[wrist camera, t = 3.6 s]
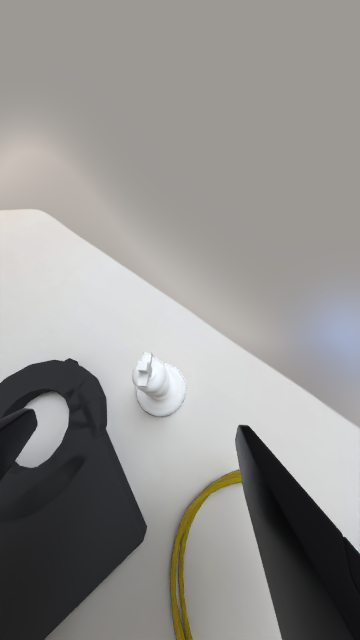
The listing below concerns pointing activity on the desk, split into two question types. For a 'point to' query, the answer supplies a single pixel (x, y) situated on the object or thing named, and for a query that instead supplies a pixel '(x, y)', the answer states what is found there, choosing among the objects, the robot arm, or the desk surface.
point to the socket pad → (61, 507)
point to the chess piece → (158, 386)
